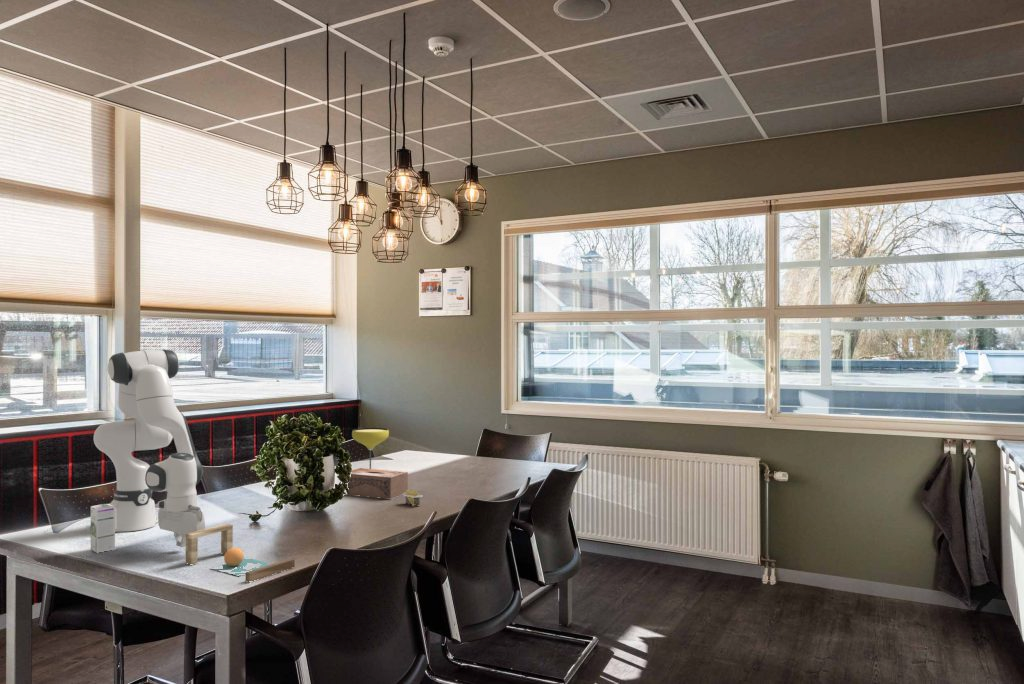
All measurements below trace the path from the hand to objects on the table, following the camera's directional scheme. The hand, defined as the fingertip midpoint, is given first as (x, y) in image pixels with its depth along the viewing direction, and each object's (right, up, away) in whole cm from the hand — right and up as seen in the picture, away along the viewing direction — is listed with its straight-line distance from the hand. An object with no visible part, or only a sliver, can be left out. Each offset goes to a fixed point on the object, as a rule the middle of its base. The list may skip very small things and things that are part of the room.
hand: (181, 546), depth 229 cm
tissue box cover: (+45, -3, +91) cm, 101 cm away
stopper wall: (+37, -2, -22) cm, 43 cm away
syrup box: (-26, -2, +1) cm, 26 cm away
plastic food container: (+65, -3, +68) cm, 94 cm away
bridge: (+12, -2, -7) cm, 15 cm away
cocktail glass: (+36, -3, +124) cm, 129 cm away
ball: (+23, +1, -15) cm, 27 cm away
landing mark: (+26, -2, -16) cm, 31 cm away
